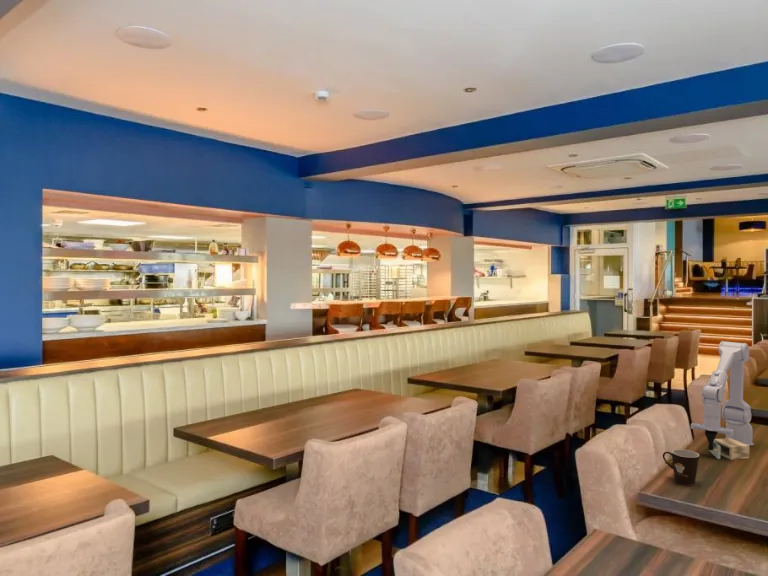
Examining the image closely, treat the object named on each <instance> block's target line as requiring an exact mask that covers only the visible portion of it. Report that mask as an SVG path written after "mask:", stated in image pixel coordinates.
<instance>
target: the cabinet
mask: <svg viewBox="0 0 768 576" xmlns="http://www.w3.org/2000/svg"><path fill="white" fill-rule="evenodd" d="M714 441H715V442H716V443H717V444H718V445H720V446H721V451H720V456H722V457H725V458H727V459H729V460H731V461H733V460H743V459H750V449H751V448H750V446H751V445H746V444H744V443H741V442H739V441H736V440H734V439H731V438H726V437H724V438H715V439H714Z"/></svg>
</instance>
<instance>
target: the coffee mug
mask: <svg viewBox="0 0 768 576" xmlns="http://www.w3.org/2000/svg"><path fill="white" fill-rule="evenodd" d="M666 454H668V455H669V456H670V455H671V456H672V460H673V464H669V463H668V462H667V461H666V460H667V459H666V458H665V456H666ZM662 459H663V461H664V462H666V463H667V464H666V463H665V464H666V465H668V466H669V468H671V469H672V470H673V478H674V481H675V480H676V481H677V482H676V481H675V482H676V483H678V482H680V483H679V484H681V483H683V484H682V485H686V484H692V485H695V484H696V478H697V473H698V465H699V460H700V453H698V452H696V451H693V450H689V449H685V450H684V448H683V449H682V448H679V449H677V448H676V449H673V450H671V452H670V451H664V452H663V453H662ZM694 483H695V484H694Z"/></svg>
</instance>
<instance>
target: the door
mask: <svg viewBox="0 0 768 576" xmlns="http://www.w3.org/2000/svg"><path fill="white" fill-rule="evenodd" d="M708 451H709V452H710V453H711V454H712V456H714V457H715V458H716V459H717V460H721V455H720V451H721V446H720V445H718V444H717V443H716V442H715V441H714V442H713V450H709V449H708Z"/></svg>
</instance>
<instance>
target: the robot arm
mask: <svg viewBox="0 0 768 576" xmlns="http://www.w3.org/2000/svg"><path fill="white" fill-rule="evenodd" d="M718 354H719V357H720V358H719V362H718V365H717V369H716V370H713V371H712V372H711V376H710V377H709V380H708V382H707V383H706V385H703V387H702V390H701V398H702V404H703V423H695V422H692V423H691V424H690V429H692V430H700V431H705V432H704V435H705V437H706V440H707V441H708V451H709V450H713V442H714V439H716V437H717V435H718V434H721V435H722V434H723V435H725V438H731V439H734V440H736V441H739V442H741V443H744V444H746V445H749V446H754V445H755V444H754V442H753V435H754V434H753V431H754V430H753V427H752V425H751V424H750V422H751V420H752V412H751V405H750V404H748V403H747V402H746V401H745V400H744V382H745V381H744V378H745V363H747V362H749V359H750V347H749V345H748V344H747V343H746V342H742V343H741V342H734V341H733V342H732V341H726V340H721V341H720V343H719V344H718ZM729 370H730V372H729ZM728 372H729V373H730V375H729V376H728ZM729 377H730V378H729ZM728 379H730V380H729V399H727V400H725V401H723V400H724V396H725V392H726V391H725V390H726V389H725V386H726V384H727V382H728ZM722 401H723V403H722ZM721 407H722V408H721ZM721 418H722V419H723V420H724V422H725V427H722V426H721Z"/></svg>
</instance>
